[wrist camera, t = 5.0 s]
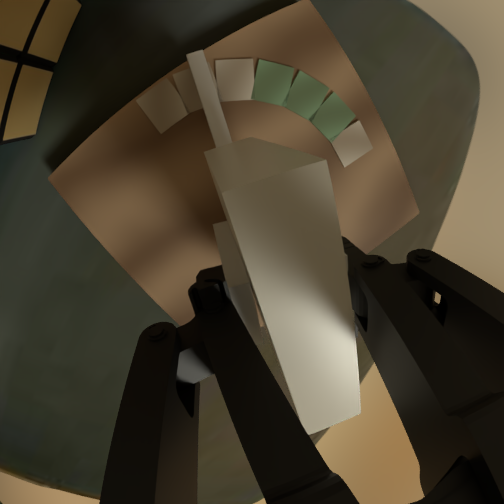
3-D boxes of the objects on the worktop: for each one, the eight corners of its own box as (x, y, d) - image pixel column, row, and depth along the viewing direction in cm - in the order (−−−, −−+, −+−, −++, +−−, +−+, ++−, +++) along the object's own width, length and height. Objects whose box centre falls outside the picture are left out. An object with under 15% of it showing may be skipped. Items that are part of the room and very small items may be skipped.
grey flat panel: (174, 63, 15) (149, -31, 4) (214, 50, 15) (257, -54, 4) (249, 287, 22) (305, 436, 11) (282, 276, 22) (360, 413, 11)
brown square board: (56, 173, 18) (46, 178, 16) (300, 4, 16) (308, -3, 14) (212, 344, 25) (214, 357, 24) (408, 207, 24) (420, 213, 22)
